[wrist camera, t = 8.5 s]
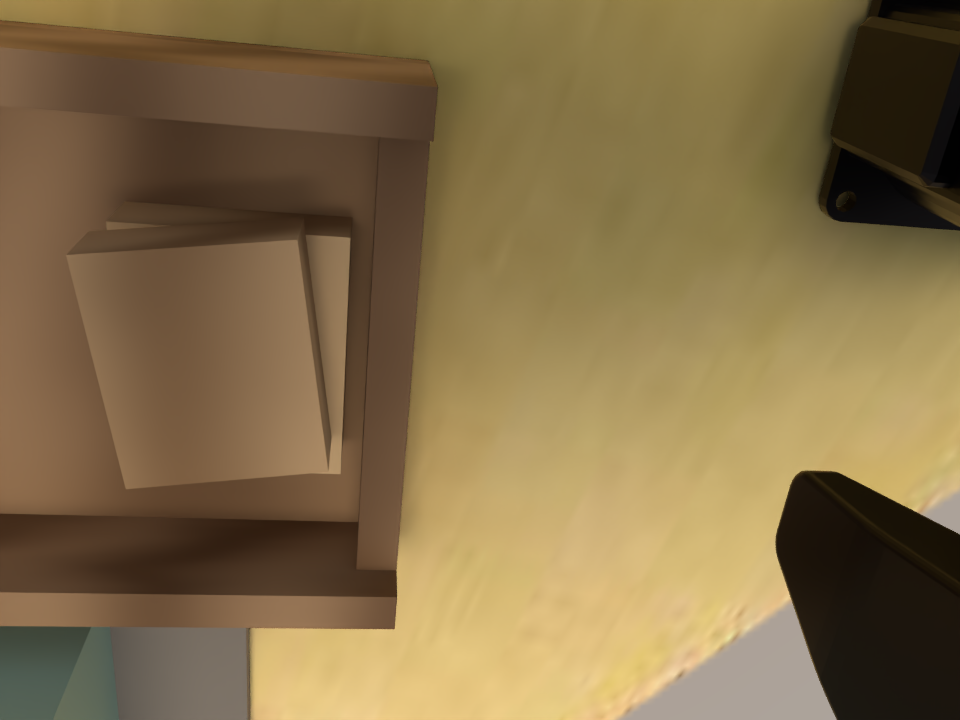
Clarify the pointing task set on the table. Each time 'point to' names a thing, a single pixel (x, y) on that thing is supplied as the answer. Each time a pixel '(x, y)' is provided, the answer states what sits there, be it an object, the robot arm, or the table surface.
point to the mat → (181, 673)
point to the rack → (67, 357)
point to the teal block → (57, 673)
